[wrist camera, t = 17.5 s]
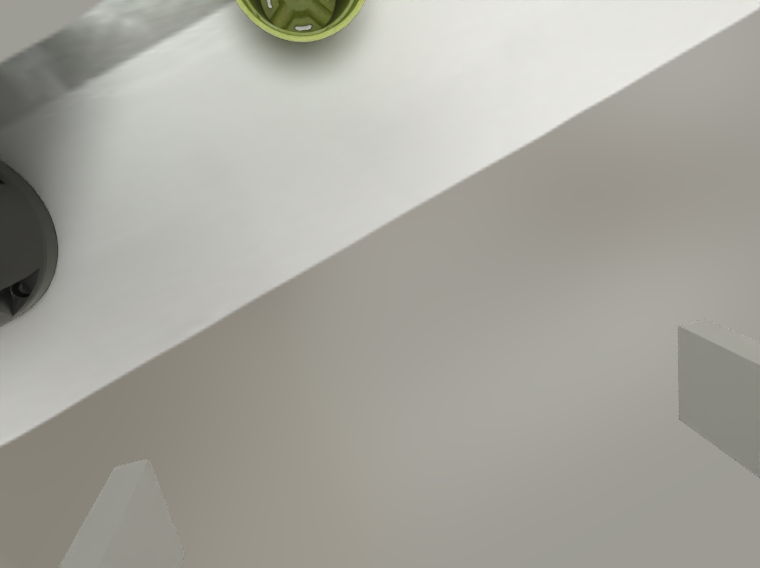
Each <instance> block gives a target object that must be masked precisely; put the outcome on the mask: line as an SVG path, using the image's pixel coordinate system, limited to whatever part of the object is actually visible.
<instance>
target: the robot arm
mask: <svg viewBox="0 0 760 568" xmlns="http://www.w3.org/2000/svg"><path fill="white" fill-rule="evenodd" d="M56 262H57V239H56V233H55V229H54V226H53V223H52V220H51V217H50V215H49V213H48V211H47V209H46V207H45V205H44V204H43V202H42V200H41V199H40V197H39V196H38V195H37V193H36V192H35V191H34V189H33V188H32V187H31V186H30V185H29V184H28V183H27V182H26V181H25V180H24V179H23V178H22V177H21V176H20V175H19V174H18V173H16V172H15V171H14V170H13V169H11V168H10V167H9V166H7V165H6V164H4V163H3V162H1V161H0V326H2V325H4V324H6V323H8V322H9V321H11V320H13V319H14V318H16V317H17V316H19V315H21V314H22V313H24V312H25V311H27V310H28V309H29V308H31V307H32V306H33V305H34V304H35V303H36V302H37V301H38V300H39V299H40V298H41V296H42V295H43V294H44V292H45V291H46V289H47V288H48V286H49V284H50V282H51V280H52V277H53V275H54V271H55V268H56ZM678 374H679V375H678V379H679V380H678V381H679V420H680V421H682V422H683V423H684V424H686V425H687V426H689V427H690V428H692V429H693V430H694V431H695V432H697V433H698V434H700V435H701V436H702V437H704V438H705V439H707V440H708V441H709V442H711V443H712V444H713V445H715V446H716V447H718V448H719V449H720V450H722V451H723V452H724V453H726V454H727V455H729V456H730V457H731V458H733V459H734V460H735V461H737V462H738V463H740V464H741V465H742V466H744V467H745V468H747V469H748V470H749V471H751V472H752V473H754V474H755V475H756V476H758V477H759V478H760V342H758V341H756V340H753V339H751V338H749V337H747V336H745V335H742V334H740V333H738V332H735V331H733V330H731V329H728V328H726V327H724V326H721V325H719V324H717V323H714V322H712V321H710V320H707V319H702V320H698V321H694V322H690V323H686V324H682V325H678ZM184 556H185V552H184V549H183V547H182V544H181V541H180V539H179V536H178V533H177V531H176V528H175V525H174V523H173V520H172V517H171V515H170V512H169V510H168V507H167V504H166V502H165V499H164V497H163V494H162V491H161V488H160V486H159V483H158V480H157V478H156V475H155V472H154V470H153V467H152V465H151V462H150V459H149V458H148V459H144V460H140V461H136V462H132V463H128V464H124V465H120V466H116V467H114V469H113V470H112V472H111V474H110V476H109V478H108V479H107V481H106V483H105V485H104V487H103V489H102V490H101V492H100V494H99V496H98V498H97V499H96V501H95V503H94V505H93V506H92V508H91V510H90V512H89V514H88V515H87V517H86V519H85V521H84V523H83V525H82V526H81V528H80V530H79V532H78V533H77V535H76V537H75V539H74V541H73V542H72V544H71V546H70V548H69V550H68V551H67V553H66V555H65V557H64V559H63V561H62V563H61V564H60V566H59V568H181V567H182V563H183V560H184Z"/></svg>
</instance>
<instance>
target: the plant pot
mask: <svg viewBox="0 0 760 568" xmlns="http://www.w3.org/2000/svg"><path fill="white" fill-rule="evenodd" d="M236 2H237V4H238V5H239V7H240V8H241V9H242V11H243V12H244V13H245V14H246V15H247V16H248V18H249V19H250V20H251V21H252V22H254V23H255V24H256V25H257V26H259V27H260V28H261V29H263V30H264V31H266V32H267V33H269V34H271V35H273V36H275V37H278V38H281V39H284V40H288V41H293V42H312V41H317V40H321V39H324V38H327V37H329V36H331V35H333V34H335V33H337V32H339V31H340V30H342V29H343V28H344V27H346V26H347V25H348V24H349V23H350V22H351V21H352V20H353V19H354V18H355V16H356V15H357V14H358V12H359V11H360V9H361V8H362V6H363V4H364V2H365V0H271V4H272V8H271V9H270V8H269V7H268V4H267V0H236ZM308 24H311V25H312V27H311V29H309V30H302V31H299V30H296V29H295V26H305V25H308Z"/></svg>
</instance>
